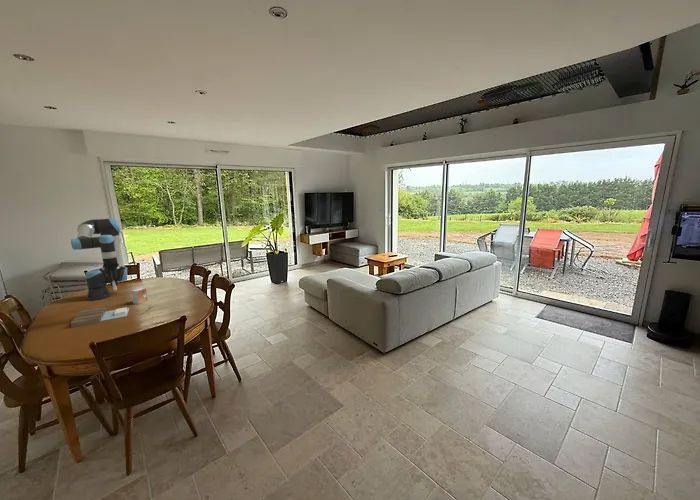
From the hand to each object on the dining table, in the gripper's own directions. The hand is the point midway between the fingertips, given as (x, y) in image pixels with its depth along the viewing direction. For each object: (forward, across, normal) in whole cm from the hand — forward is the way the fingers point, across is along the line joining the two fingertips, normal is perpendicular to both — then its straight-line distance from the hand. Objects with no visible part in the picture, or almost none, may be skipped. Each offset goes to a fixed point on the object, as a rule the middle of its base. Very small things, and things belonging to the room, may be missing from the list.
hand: (115, 289), depth 199 cm
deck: (+18, -16, -1) cm, 24 cm away
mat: (+18, -2, -1) cm, 18 cm away
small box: (+18, +11, +18) cm, 28 cm away
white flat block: (+15, +1, -1) cm, 15 cm away
